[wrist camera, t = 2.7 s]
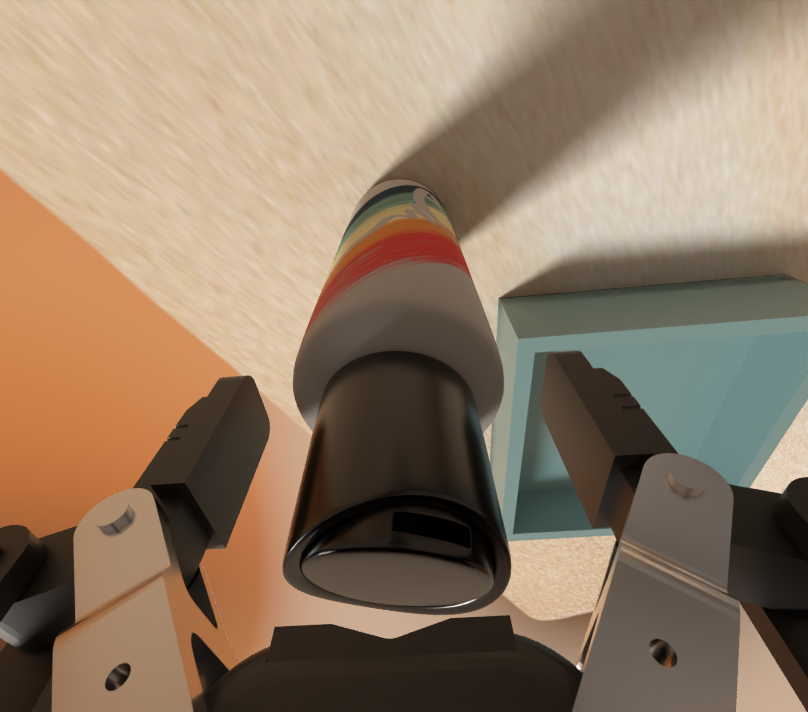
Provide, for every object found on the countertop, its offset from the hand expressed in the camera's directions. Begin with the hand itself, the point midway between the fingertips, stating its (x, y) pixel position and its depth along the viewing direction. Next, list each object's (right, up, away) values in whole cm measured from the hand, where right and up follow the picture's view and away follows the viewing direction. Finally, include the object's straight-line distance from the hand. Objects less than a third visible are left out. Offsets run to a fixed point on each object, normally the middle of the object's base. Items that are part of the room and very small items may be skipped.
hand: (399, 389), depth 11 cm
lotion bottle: (0, +8, +12) cm, 15 cm away
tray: (+16, -3, +20) cm, 26 cm away
